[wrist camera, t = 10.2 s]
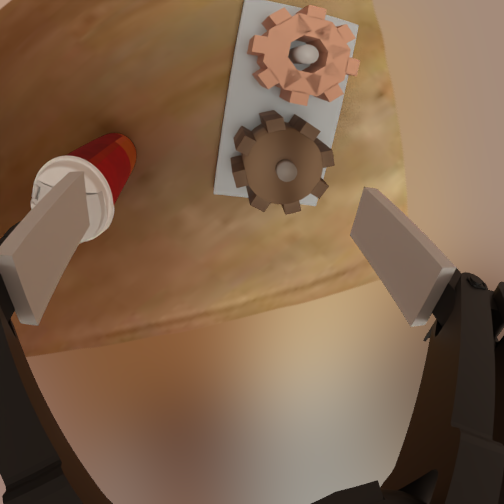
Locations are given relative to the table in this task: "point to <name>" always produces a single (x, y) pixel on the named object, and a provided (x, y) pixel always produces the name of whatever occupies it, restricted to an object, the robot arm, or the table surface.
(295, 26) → the gear
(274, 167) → the gear
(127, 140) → the paper cup
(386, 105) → the table surface
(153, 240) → the table surface
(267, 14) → the gear board
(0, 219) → the table surface
